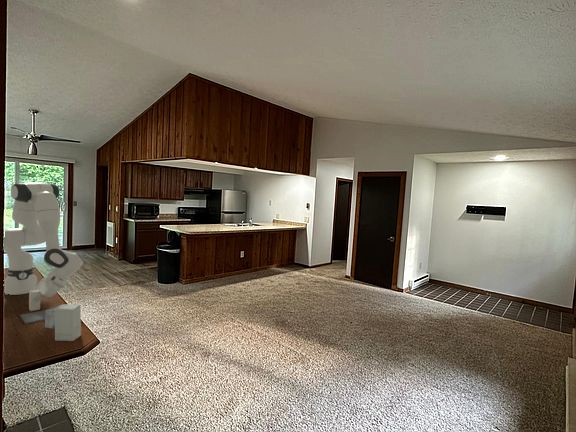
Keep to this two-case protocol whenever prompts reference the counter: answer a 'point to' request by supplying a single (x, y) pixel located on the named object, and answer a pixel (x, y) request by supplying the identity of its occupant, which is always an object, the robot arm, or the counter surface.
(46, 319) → the medicine box
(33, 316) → the mat
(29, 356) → the counter surface
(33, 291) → the cream block
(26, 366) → the counter surface
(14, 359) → the counter surface
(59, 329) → the skincare box
